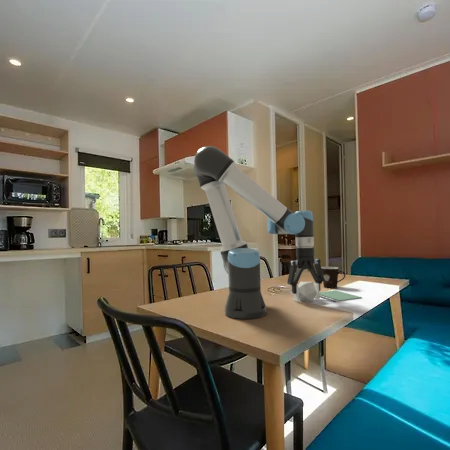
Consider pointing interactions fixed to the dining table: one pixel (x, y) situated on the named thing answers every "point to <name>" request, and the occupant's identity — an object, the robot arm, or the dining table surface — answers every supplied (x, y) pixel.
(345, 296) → the mat
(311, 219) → the robot arm
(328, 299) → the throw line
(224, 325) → the dining table surface
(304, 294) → the die
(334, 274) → the coffee mug
